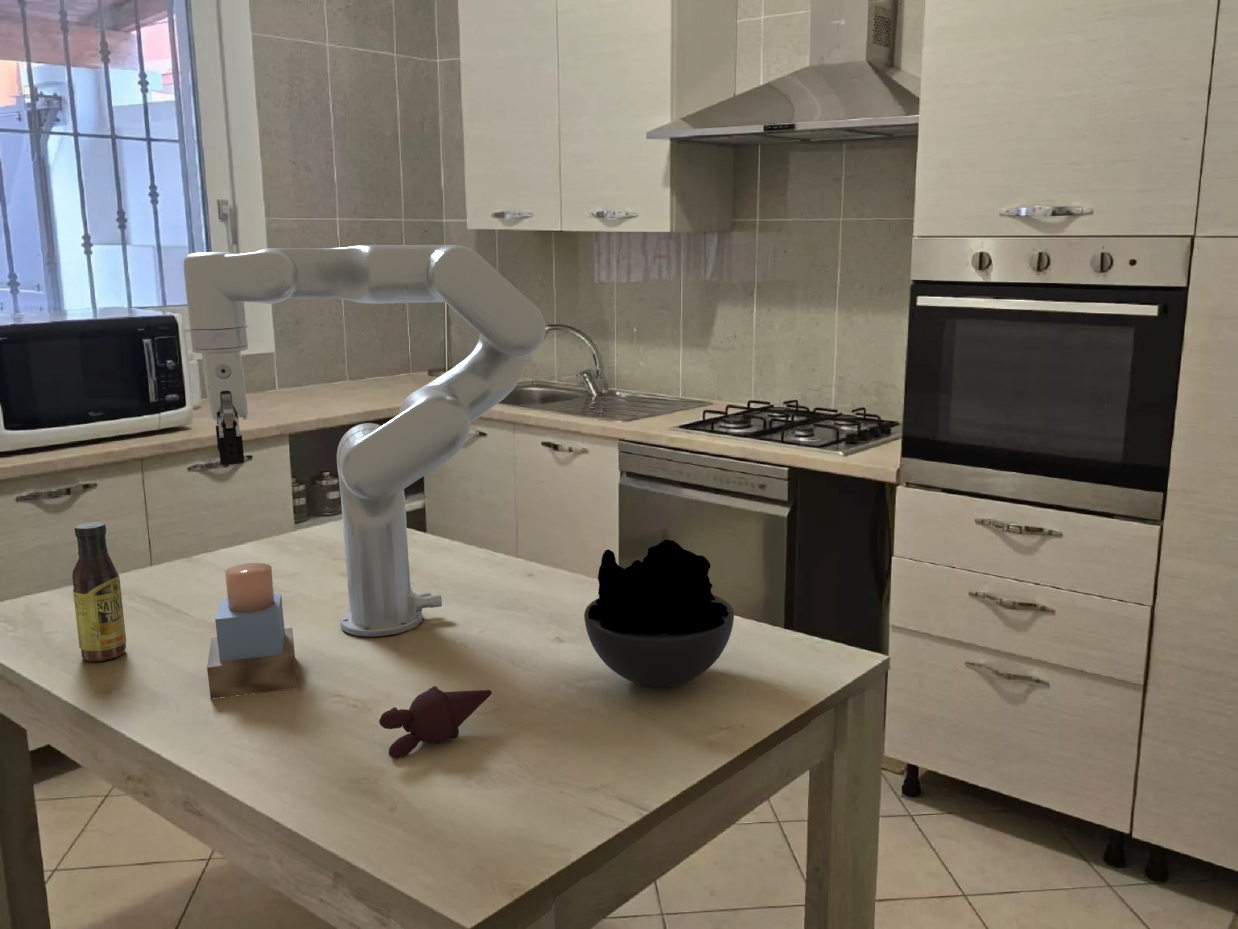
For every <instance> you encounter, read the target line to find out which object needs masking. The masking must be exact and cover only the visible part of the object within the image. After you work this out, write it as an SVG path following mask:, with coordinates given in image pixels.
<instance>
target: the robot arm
mask: <svg viewBox="0 0 1238 929" xmlns="http://www.w3.org/2000/svg"><path fill="white" fill-rule="evenodd" d="M183 274H184V275H183V276H184V285H185V293H186V294H185V296H186V302H187V304H186V305H187V313H188V322H189V331H190V332H189V333H190V341H191V342H190V343H191V352H192V353H195V354H201V359H202V360H201V361H202V368H203V376H204V377H203V378H204V385H205V392H206V397H207V401H208V402H207V403H208V407H209V411H210V414H211V418H212V420H213V421H214V422H216V425H215V433H216V443H217V445H216V446H217V452H219V462H220V463H219V464H220V465H222V466H228V465H229V466H231V465H241V464H244V462H245V456H244V455H245V454H244V443H243V435H242V434H241V429H240V422H239V421H240V420H239V418H242V419H243V421H244V420H247V419H249V410H248V402H247V401H248V400H247V392H246V390H247V389H246V382H245V371H244V365H243V364H244V363H243V357H242V353H241V352H243V351H246V350H248V349H249V346H248V336H247V333H248V332H247V324H246V323H247V322H246V311H245V303H244V302H247V303H255V304H256V303H257V304H270V305H272V304H278V303H282V302H284V301H285V300H287V299H288V300H290V299H292V300H293V299H294V300H296V299H330V300H331V299H333V300H336V299H337V300H345V301H349V302H354V303H359V304H370V305H371V304H373V305H380V304H381V305H383V304H421V303H425V304H426V303H428V304H429V303H431V304H432V303H435V304H436V303H445V304H447V305H448V306H449V307H450V308H451V309H452V310H453V311H454V312H455V313H456V314H457V315H458V316H460V317H461V318H462V319H463V320H464V321H465V322H466V323H467V324H469V325H470V326H471V327H472V328H473V329H474V330H475V331H476V332H478V333H479V338H478V340H477V344H476V345H475V347H474V349H473V351H472V352H471V353H470V354H468V356H467V357H465V358H464V359H463V360H462V361H460V362H459V363H458V364H456V365H455V366H454V367H452V368H451V369H449V370H448V371H446V372H445V373H443V374H441V375H440V376H438V377H437V378H435V379H434V380H431V381H430V382H428V383H427V384H426V385H424V386H422V387H420V388H418V389H417V390H415V391H413V392H411V393H410V394H409V395H408V396H407V397H406V398H405V399H404V401H403V402H402V403H401V406H400V409H399V412H398V413H399V414H397V415H396V416H395V417H393V418H392V419H390V420H389V421H387V422H386V423H383V425H380V424H378V423H373V422H369V423H368V422H367V423H366V422H365V423H360V424H357V425H355V426H353V427H351V428H350V429H348V431H346V432H345V433H344V435H342V437H341V439H340V441H339V442H338V443H339V444H338V446H337V450H336V451H337V452H336V466H337V473H338V474H337V475H338V484H339V491H340V492H339V493H340V502H341V503H340V504H341V513H342V514H341V515H342V527H343V528H342V529H343V542H344V553H345V568H346V569H345V570H346V577H347V579H346V580H347V582H346V583H347V591H348V593H347V594H348V603H349V604H348V605H349V610H348V611H346V612H345V613H344V614H343V615H342V616H341V617H340V620H339V622H340V628H341V629H342V631H344V632H345V633H347V634H350V635H354V636H358V637H368V638H369V637H371V638H372V637H376V638H377V637H386V636H392V635H397V634H402V633H404V632H407V631H410V630H412V629H414V628H416V627H417V626H419V624H420V623H421V622H422V621H423V609H426V608H427V609H428V608H439V607H440V608H441V607H443V601H442V600H443V598H442V595H441V594H433V595H432V592H431V591H428V592H422V593H416V592H414V590H413V589H412V587H411V577H410V575H411V574H410V561H409V546H408V544H409V543H408V534H407V533H408V532H407V530H408V529H407V522H408V521H407V510H406V497H405V489H406V488H408V487H409V486H411V485H413V484H414V483H415V482H417V481H419V480H420V479H421V478H423V477H425V476H426V475H428V474H429V473H431V472H432V471H433V470H436V468H438V467H439V466H441V465H443V464H444V463H445V462H448V461H449V460H450V459H451V458H453V457H454V456H455V455H456V454H457V453H458V452H459V451H460V450H461V449H462V447H463V446H464V445H465V443H466V442H467V440H468V437H469V435H470V431H471V430H470V429H471V428H470V427H471V424H472V423H473V422H475V421H476V420H477V419H479V418H480V417H481V416H483V415H484V414H486V413H487V412H488V411H490V410H491V409H492V408H494V407H495V406H497V405H498V404H499V403H501V402H502V401H503V400H504V399H505V398H507V397H508V395H510V394H511V393H512V391H513V390H514V389H515V388H516V386H518V383H519V382H520V380H521V378H522V376H523V374H524V372H525V369H526V366H527V364H528V363H527V362H528V359H529V356H531V355H532V354H533V353H536V351H537V350H538V349H539V348H540V347H541V345H542V344H543V343H544V340H545V337H546V333H547V331H546V330H547V326H546V320H545V317H544V315H543V314H542V312H541V311H540V309H539V308H538V307H537V305H536V304H534V303H533V301H531V300H530V299H529V298H528V297H526V295H524V293H522V292H521V291H520V290H519V289H517V288H516V287H515V286H514V285H513V284H512V283H510V281H509V280H508V279H506V278H505V277H504V276H503V275H502V274H501V273H500V272H499V271H498V270H497V269H496V268H494V266H492V265H491V264H490V263H489V261H487V260H486V259H485V258H483V256H482V255H481V254H479V253H478V252H477V251H475V250H474V249H473V248H470V247H466V246H464V245H458V244H456V245H455V244H364V245H363V244H362V245H353V246H346V247H345V246H344V247H333V248H332V247H328V248H327V247H326V248H319V247H318V248H317V247H315V248H312V247H311V248H303V247H301V248H276V247H275V248H270V247H269V248H263V249H262V248H261V249H259V250H257V251H252V252H243V253H233V252H229V251H228V252H227V251H206V252H205V251H203V252H194V253H193V252H192V253H190V254H187V255H186V256H185V258H184V260H183Z"/></svg>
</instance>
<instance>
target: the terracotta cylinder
mask: <svg viewBox="0 0 1238 929" xmlns="http://www.w3.org/2000/svg"><path fill="white" fill-rule="evenodd" d="M224 574H225V575H224V576H225V586H226V594H227V595H226V596H227V598H226V599H228V608H229V609H230V610H232V611H236V612H252V611H258V610H263V609H266V608H268V607H270V606H272V605H273V604H274V582H273V570H272V566H271V565H270V564H269V563H263V562H250V563H247V562H246V563H242V564H235V565H234V566H231V567H229V568H227V569H226V570H225V571H224Z"/></svg>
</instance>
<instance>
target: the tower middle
mask: <svg viewBox="0 0 1238 929" xmlns="http://www.w3.org/2000/svg"><path fill="white" fill-rule="evenodd" d="M214 621H215V630H216V637H217V641H218V650H219V659H220V662H221V661H230V660H239V659H248V658H257V657H266V656H275V655H282V652H283V645H284V637H285V629H286V628H285V620H284V609H283V600H282V593H275V594H274V604H273V605H272V606H270V607H268V608H266V609H263V610H258V611H252V612H236V611H232V610H230V609H229V608H228V598H222V599H221V600H220V603H219V606H218V610H217V613H216V615H215V620H214Z"/></svg>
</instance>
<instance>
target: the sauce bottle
mask: <svg viewBox="0 0 1238 929" xmlns="http://www.w3.org/2000/svg"><path fill="white" fill-rule="evenodd" d="M106 534H107V528H106V523H104V522H103V521H93V522H90V521H89V522H85V523H79V524H76V525H75V526H74V535H75V537H76V541H77V547H78V548H77V550H78V552H77V555H78V559H77V561H76V563H75V566H74V568H73V570H72V575H71V576H72V586H73V589H72V593H73V602H74V609H75V610H74V611H75V612H74V613H75V618H76V619H75V620H76V627H77V628H76V629H77V636H78V638H77V639H78V647H79V649H81V650H80V651H81V652H80V653H81V658H82V660H84V661H86V662H92V663H93V662H94V663H98V662H99V663H101V662H103V661H104V662H105V661H108V660H109V661H110V660H113V659H116V658H119V657H121V656H122V655H123V654H124V653H125V652H126V649H127V644H126V643H127V635H126V625H125V616H124V607H123V597H122V589H121V588H122V587H121V579H120V578H121V577H120V575H119V572H118V571H117V569H116V566H115V564H114V563H113V560H112V558H111V557H110V555H109V552H108V550H109V549H108V548H107V540H106Z"/></svg>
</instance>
